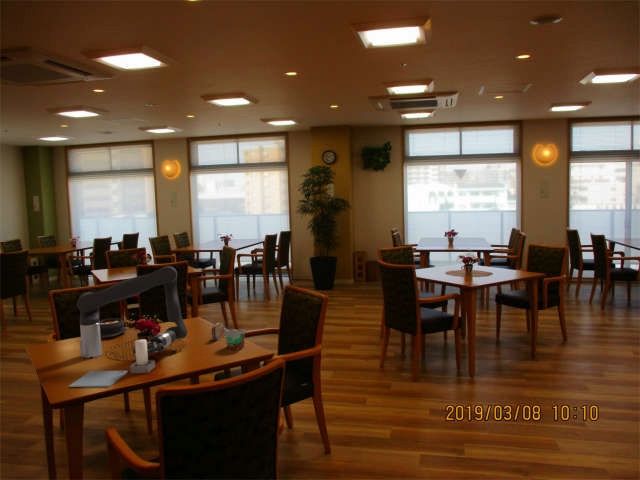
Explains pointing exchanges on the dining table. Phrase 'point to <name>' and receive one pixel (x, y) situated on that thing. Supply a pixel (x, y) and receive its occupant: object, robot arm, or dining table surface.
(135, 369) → the cup holder
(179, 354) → the dining table surface
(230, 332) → the food container
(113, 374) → the mat
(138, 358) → the cream tall cylinder
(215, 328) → the tin
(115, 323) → the casserole
